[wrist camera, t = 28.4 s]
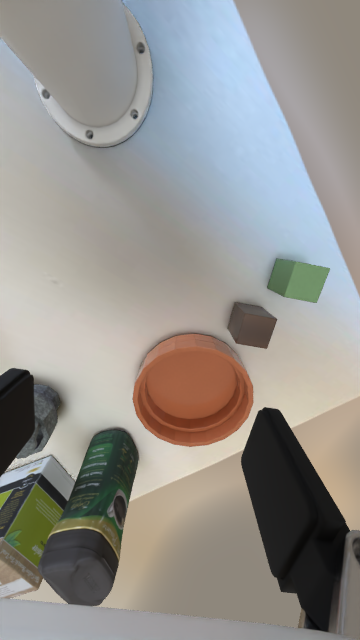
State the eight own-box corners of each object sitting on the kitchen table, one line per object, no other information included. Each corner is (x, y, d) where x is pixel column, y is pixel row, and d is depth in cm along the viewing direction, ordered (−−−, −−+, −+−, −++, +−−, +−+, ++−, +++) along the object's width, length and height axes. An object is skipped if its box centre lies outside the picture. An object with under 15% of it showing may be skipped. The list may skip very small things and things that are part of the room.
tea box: (21, 507, 47) (-45, 617, 33) (-10, 476, 44) (-98, 583, 30) (81, 486, 45) (37, 595, 31) (52, 452, 42) (-10, 556, 28)
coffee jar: (86, 432, 41) (15, 576, 23) (127, 423, 40) (86, 565, 22) (105, 469, 44) (56, 621, 26) (144, 461, 43) (119, 612, 26)
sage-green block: (276, 258, 31) (296, 261, 25) (305, 264, 31) (330, 268, 26) (266, 288, 32) (283, 296, 27) (294, 293, 32) (316, 303, 27)
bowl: (146, 323, 34) (141, 336, 29) (257, 342, 35) (269, 358, 30) (133, 414, 39) (127, 437, 35) (228, 428, 40) (235, 453, 36)
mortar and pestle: (33, 427, 40) (-24, 500, 29) (1, 387, 37) (-76, 450, 26) (87, 408, 39) (49, 476, 28) (58, 365, 36) (2, 420, 25)
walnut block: (234, 302, 33) (244, 313, 27) (262, 307, 33) (277, 319, 28) (227, 328, 34) (235, 343, 29) (253, 332, 34) (267, 349, 29)
